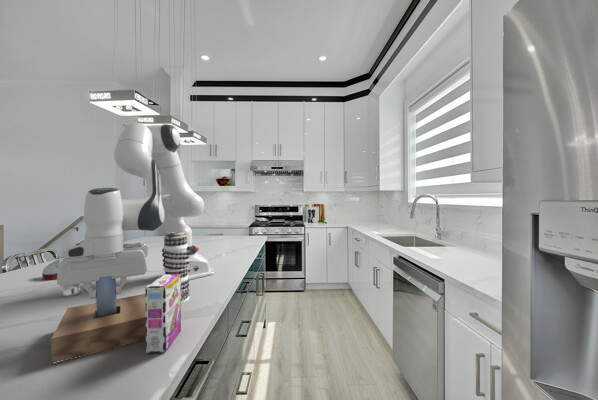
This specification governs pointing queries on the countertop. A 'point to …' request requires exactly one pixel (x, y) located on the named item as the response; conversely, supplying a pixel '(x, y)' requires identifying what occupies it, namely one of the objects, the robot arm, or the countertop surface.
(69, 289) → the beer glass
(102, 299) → the peg
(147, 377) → the countertop surface
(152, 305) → the candy bar box
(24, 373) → the countertop surface
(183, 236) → the decorative candle
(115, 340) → the socket block
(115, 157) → the robot arm
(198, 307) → the countertop surface
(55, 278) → the red base snow globe
